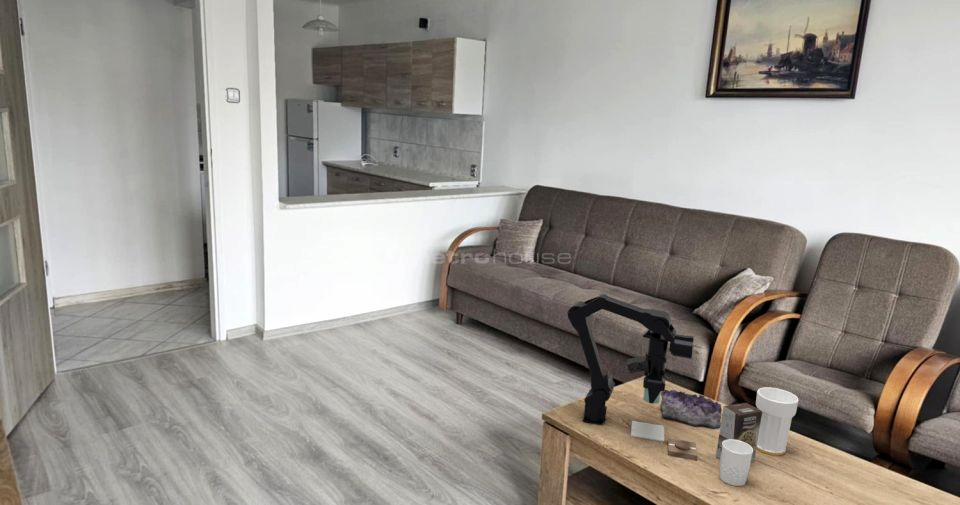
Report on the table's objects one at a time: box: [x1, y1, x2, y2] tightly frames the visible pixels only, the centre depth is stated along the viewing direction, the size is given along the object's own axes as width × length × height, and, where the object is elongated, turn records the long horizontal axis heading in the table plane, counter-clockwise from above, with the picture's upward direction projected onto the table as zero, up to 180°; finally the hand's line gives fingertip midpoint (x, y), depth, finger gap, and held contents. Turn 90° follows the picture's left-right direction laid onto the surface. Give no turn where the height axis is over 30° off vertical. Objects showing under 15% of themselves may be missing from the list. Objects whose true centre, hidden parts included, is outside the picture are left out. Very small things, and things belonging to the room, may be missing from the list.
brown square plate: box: [667, 437, 698, 461], centre depth 187 cm, size 8×8×2 cm
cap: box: [642, 388, 661, 404], centre depth 195 cm, size 6×5×5 cm
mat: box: [630, 420, 665, 443], centre depth 198 cm, size 10×10×1 cm
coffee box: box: [715, 402, 762, 463], centre depth 183 cm, size 9×6×16 cm
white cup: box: [719, 439, 753, 487], centre depth 173 cm, size 8×8×10 cm
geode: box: [659, 389, 723, 430], centre depth 208 cm, size 20×12×10 cm, turn 64°
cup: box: [755, 386, 800, 457], centre depth 190 cm, size 11×11×17 cm
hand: (651, 399), depth 196 cm, fingers closed on cap, 5 cm apart
